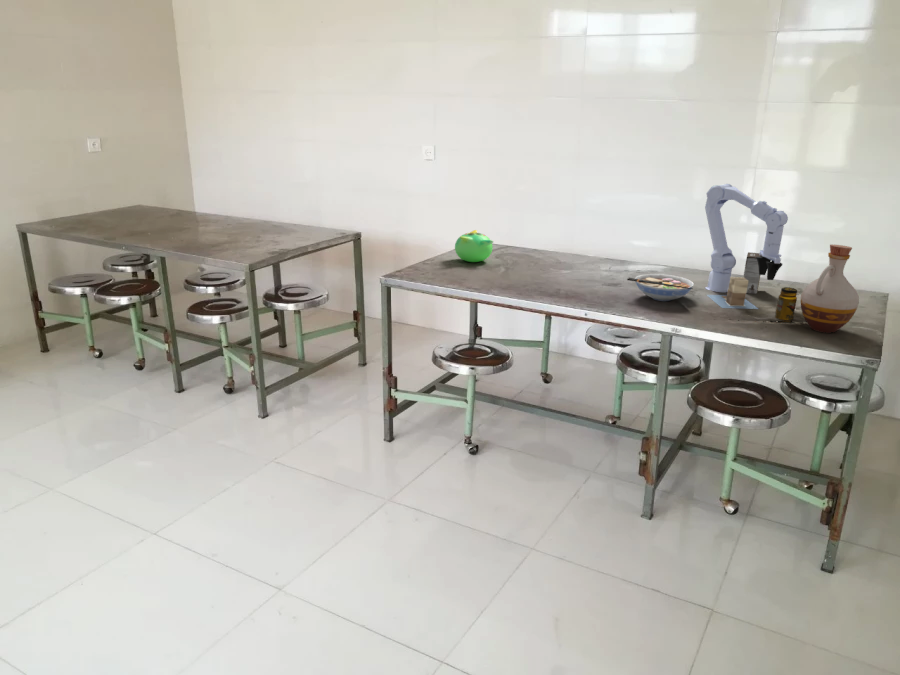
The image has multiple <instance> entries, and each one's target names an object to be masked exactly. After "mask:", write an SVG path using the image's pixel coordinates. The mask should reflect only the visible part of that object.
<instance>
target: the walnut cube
mask: <svg viewBox="0 0 900 675" xmlns="http://www.w3.org/2000/svg"><path fill="white" fill-rule="evenodd" d="M726 295H727V298H726V302H727V303H728V304H729V305H735V306H744V301H745V299H746V295H747V293H732V292H731V291H730V290H728V292H726Z"/></svg>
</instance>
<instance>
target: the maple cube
mask: <svg viewBox="0 0 900 675" xmlns="http://www.w3.org/2000/svg"><path fill="white" fill-rule="evenodd" d="M747 287H748V280H747V279H745V278H743V277H742V276H740V277H737V276H731V277H730V283H729V289H728V290H730V291H731V292H732V293H746V294H747Z"/></svg>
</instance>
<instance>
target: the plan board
mask: <svg viewBox="0 0 900 675" xmlns="http://www.w3.org/2000/svg"><path fill="white" fill-rule="evenodd" d="M706 296H707V297H708V298H710V299H711V300H712V301H713V302H714V303H715V304H716V305H718V306H719V307H720V308H721V309H748V310H749V309H750V310H759V308H758V307H757V306H756V305H754V304H753V303H752V302H750V301H749V300H748V299H746V298H745V301H744V306H735V305H729V304H728V303H727V302H726V298H727V294H725V295H724V294H706Z"/></svg>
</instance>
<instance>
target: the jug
mask: <svg viewBox="0 0 900 675" xmlns="http://www.w3.org/2000/svg"><path fill="white" fill-rule="evenodd" d="M852 249H853V246H852V247H851V246H848V245H842V244H831V243H830V244H829V252H828V254H827V255H828V257H829V258H828V260H829V261H828V266H826V267H825V268H824V269H823V270H822V272H821V273H820V275H819V277H818V278H817V279H814V280H813V281H811V282H810V283H808V284H807V285H806V286H805V287H804V288H803V289H802V291H801V293H800V294H801V295H800V309H801V314H802V316H803V319H804V320H805V321H806V323H807V324H808V326H809V327H810V329H811V330H814V331H816V332H820V333H825V332H826V333H827V334H831V332H833V333H835V332H837V331H839V330H840V329H841V328H842V327H844V326H845V325H846V324H848V323H849V322H850V320H851V319H852V318H853V316H854V314H856V311H857V310H858V306H859V304H860V296H859V293H858V291H857V290H856V288H855V287H854V286H853V285H852V284H851V283H850V281H849V280H848V279H847V277H846V276H845V275H844V270H845V266H846V264H847V261H848V260H849V259H850V257H851V255H850V253H851V252H852Z"/></svg>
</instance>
